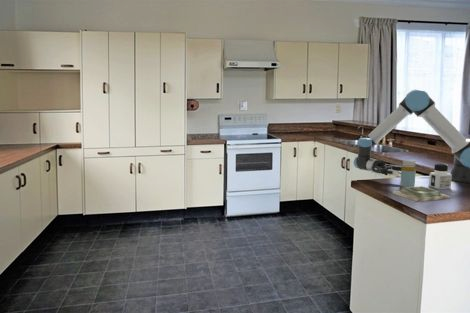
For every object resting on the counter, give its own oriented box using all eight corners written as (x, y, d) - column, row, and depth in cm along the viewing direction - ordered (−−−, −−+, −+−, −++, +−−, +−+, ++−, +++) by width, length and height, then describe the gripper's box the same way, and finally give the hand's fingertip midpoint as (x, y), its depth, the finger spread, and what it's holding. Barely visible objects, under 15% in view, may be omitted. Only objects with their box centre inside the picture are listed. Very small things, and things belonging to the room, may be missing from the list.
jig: (424, 190, 198) (424, 184, 198) (449, 198, 183) (450, 192, 182) (392, 193, 192) (393, 187, 192) (416, 201, 177) (416, 195, 177)
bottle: (410, 186, 208) (412, 159, 206) (416, 189, 201) (418, 161, 199) (397, 186, 208) (399, 159, 205) (403, 189, 201) (405, 161, 199)
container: (439, 189, 201) (441, 165, 199) (428, 186, 209) (430, 163, 206) (450, 188, 203) (453, 164, 201) (439, 185, 211) (441, 162, 209)
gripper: (390, 170, 228) (421, 177, 210) (360, 174, 217) (390, 181, 198) (391, 158, 227) (422, 163, 208) (360, 161, 216) (391, 167, 197)
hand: (407, 172), depth 203 cm, fingers open, 13 cm apart
